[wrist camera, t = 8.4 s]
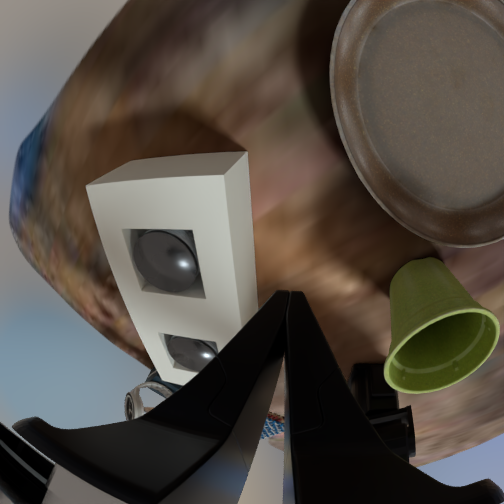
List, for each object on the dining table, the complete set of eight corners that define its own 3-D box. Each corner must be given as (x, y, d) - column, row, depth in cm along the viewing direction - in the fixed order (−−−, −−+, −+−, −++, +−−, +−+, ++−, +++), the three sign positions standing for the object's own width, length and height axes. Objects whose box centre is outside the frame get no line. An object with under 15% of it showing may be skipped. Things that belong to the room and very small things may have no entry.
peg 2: (235, 332, 29) (221, 375, 25) (193, 327, 30) (174, 366, 26) (229, 299, 27) (213, 343, 22) (183, 294, 28) (161, 334, 23)
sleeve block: (261, 353, 31) (251, 397, 26) (180, 342, 33) (162, 380, 28) (247, 151, 19) (223, 175, 14) (131, 160, 21) (85, 185, 16)
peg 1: (223, 252, 24) (201, 295, 19) (172, 249, 25) (143, 288, 20) (216, 199, 21) (189, 234, 17) (161, 200, 22) (125, 232, 18)
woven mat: (298, 418, 40) (296, 429, 39) (262, 432, 46) (260, 441, 44) (244, 397, 39) (241, 408, 37) (214, 413, 44) (211, 422, 43)
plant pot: (350, 297, 25) (357, 377, 17) (416, 218, 19) (459, 287, 12) (416, 331, 25) (432, 401, 18) (478, 268, 20) (516, 334, 13)
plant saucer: (377, -62, 8) (385, -80, 5) (561, 91, 8) (582, 96, 6) (281, 153, 19) (276, 164, 17) (478, 262, 20) (492, 284, 17)
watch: (153, 350, 36) (119, 415, 26) (200, 380, 37) (176, 445, 28) (140, 362, 39) (110, 420, 29) (183, 389, 40) (160, 447, 31)
